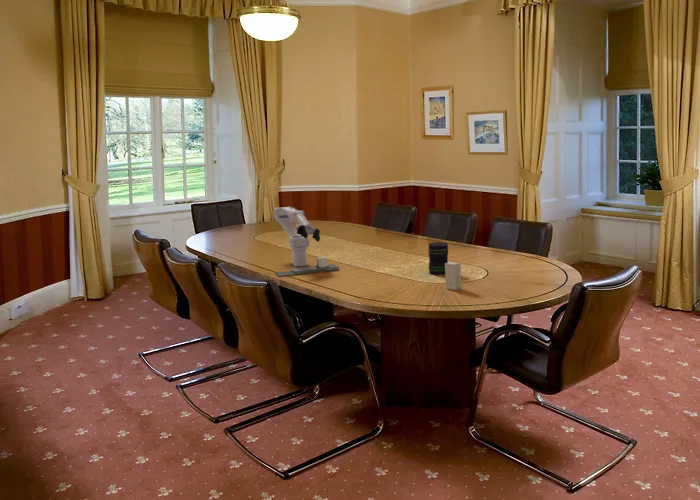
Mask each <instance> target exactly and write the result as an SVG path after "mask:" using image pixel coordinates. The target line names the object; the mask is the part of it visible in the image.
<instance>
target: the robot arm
mask: <svg viewBox="0 0 700 500" xmlns="http://www.w3.org/2000/svg"><path fill="white" fill-rule="evenodd" d="M273 218H274V219H275V222H277V224H279V225H280V227H282V229H283V231H284V232H285V233H286V234H287V236H288V244H289V247H290V248H291V249H292V262H290V264H291V265H292V266H293V267H295V268H298V267H307V266H309V265H310V263H308V260H307V259H308V258H307V256H308V255H307V249H308V248H309V246H310V239H309V235H312V237H311V238H312V239H314V240H315V241H316V242H320V240H321V237H320V234H321V231H320V229H319V228H315V227H313V224H312V223H310V222H309V221H308V219H307V218H306V214H305V211H304V210H303V209H302V210H298V209H296V208H295V207H291V206H286V207H275V208H273ZM292 223H294V224H295V226H294V225H292Z"/></svg>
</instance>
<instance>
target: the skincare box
mask: <svg viewBox="0 0 700 500" xmlns="http://www.w3.org/2000/svg"><path fill="white" fill-rule="evenodd" d="M461 269H462V268H461V263H460V262H454V261H449V262H448V263H445V275H444V276H445V289H446V290H447V289H448V290H450V291H451V290H453V291H459V290H462V275H461V273H462V272H461Z"/></svg>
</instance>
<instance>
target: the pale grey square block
mask: <svg viewBox="0 0 700 500" xmlns="http://www.w3.org/2000/svg"><path fill="white" fill-rule="evenodd" d="M327 265H328V258H327V256H325V255H323V256H317V257H316V266H317V269H320V268H327Z"/></svg>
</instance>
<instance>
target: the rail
mask: <svg viewBox="0 0 700 500" xmlns="http://www.w3.org/2000/svg"><path fill="white" fill-rule="evenodd" d="M339 270H340V266H338V265H337V264H335V263H331V264H327V268H320V269H317V265H314V266H313V265H312V266H300V267H295V268H290V271H292V272H293V273H294V274H296V275H295V276H299V275H307V273H308V274H317V273H323V272H324V273H325V272H326V273H327V272H333V271H339ZM298 274H299V275H298Z"/></svg>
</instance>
